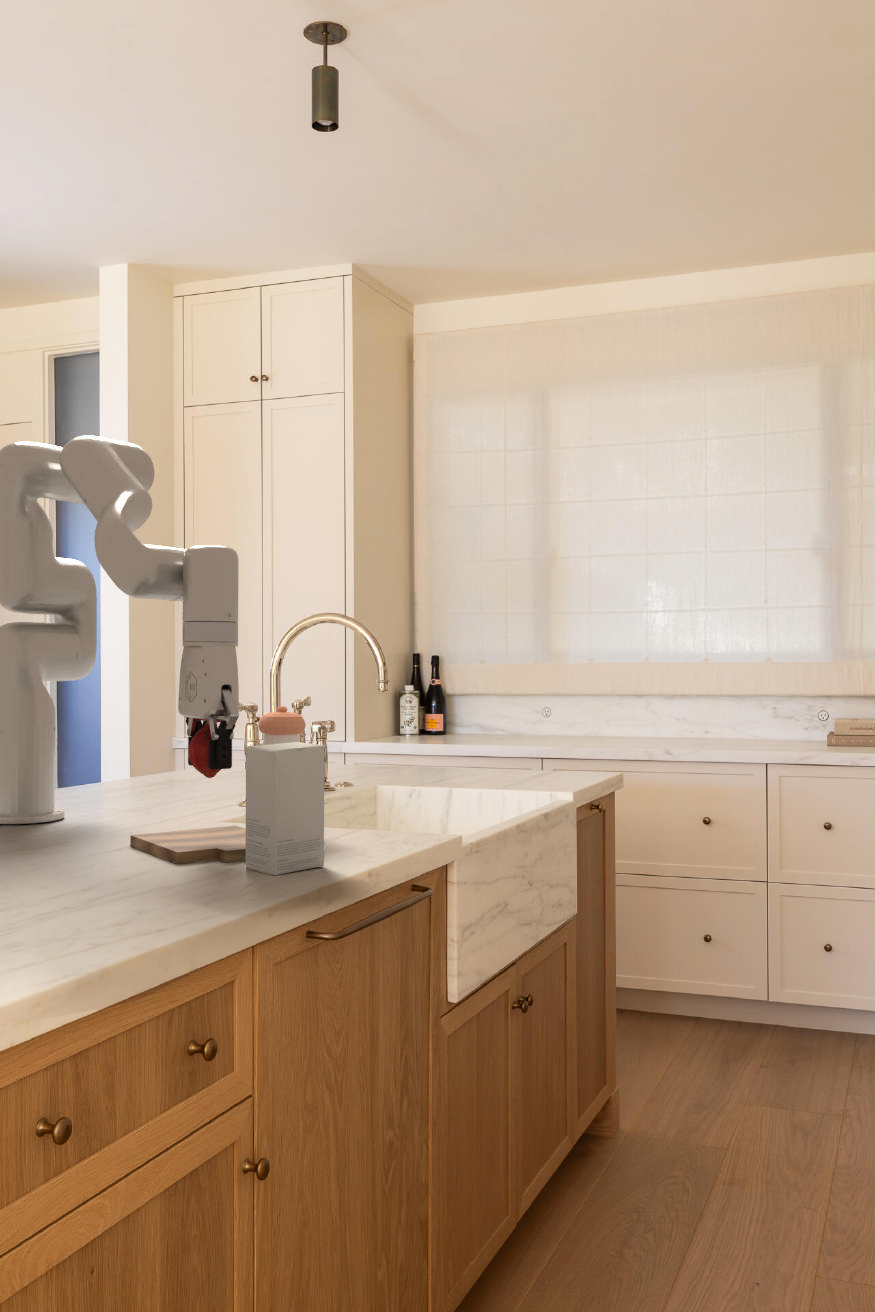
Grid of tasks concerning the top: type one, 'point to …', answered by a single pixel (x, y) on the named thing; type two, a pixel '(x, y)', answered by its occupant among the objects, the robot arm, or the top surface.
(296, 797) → the skincare box
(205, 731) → the onion
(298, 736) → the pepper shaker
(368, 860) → the top surface
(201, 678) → the robot arm
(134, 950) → the top surface
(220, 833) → the board
